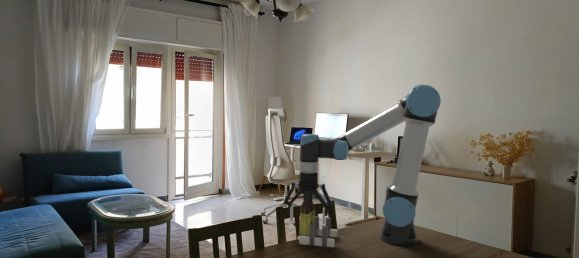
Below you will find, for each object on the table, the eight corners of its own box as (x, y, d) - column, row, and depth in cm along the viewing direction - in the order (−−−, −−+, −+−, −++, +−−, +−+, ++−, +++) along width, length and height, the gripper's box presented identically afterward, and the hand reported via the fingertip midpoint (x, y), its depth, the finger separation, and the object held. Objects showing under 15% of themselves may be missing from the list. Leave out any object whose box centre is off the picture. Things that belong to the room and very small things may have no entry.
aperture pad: (317, 236, 168) (317, 235, 168) (315, 243, 160) (315, 241, 160) (299, 235, 169) (299, 233, 169) (295, 241, 162) (295, 239, 161)
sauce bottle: (313, 240, 161) (314, 192, 160) (298, 239, 162) (299, 191, 161) (315, 235, 167) (316, 189, 166) (300, 234, 168) (302, 188, 167)
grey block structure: (337, 236, 169) (337, 218, 168) (334, 247, 156) (334, 227, 155) (305, 233, 172) (305, 215, 171) (299, 244, 158) (299, 224, 158)
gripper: (339, 171, 164) (338, 222, 165) (281, 168, 169) (280, 217, 170) (338, 174, 157) (336, 227, 158) (277, 171, 162) (276, 222, 163)
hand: (307, 222), depth 164 cm, fingers open, 13 cm apart
